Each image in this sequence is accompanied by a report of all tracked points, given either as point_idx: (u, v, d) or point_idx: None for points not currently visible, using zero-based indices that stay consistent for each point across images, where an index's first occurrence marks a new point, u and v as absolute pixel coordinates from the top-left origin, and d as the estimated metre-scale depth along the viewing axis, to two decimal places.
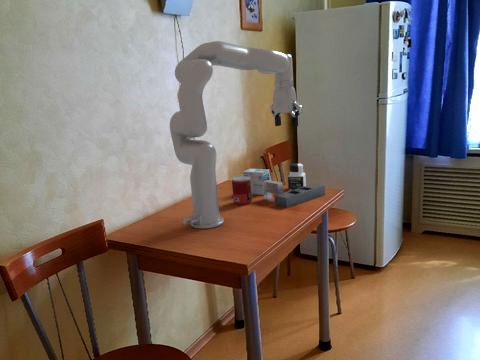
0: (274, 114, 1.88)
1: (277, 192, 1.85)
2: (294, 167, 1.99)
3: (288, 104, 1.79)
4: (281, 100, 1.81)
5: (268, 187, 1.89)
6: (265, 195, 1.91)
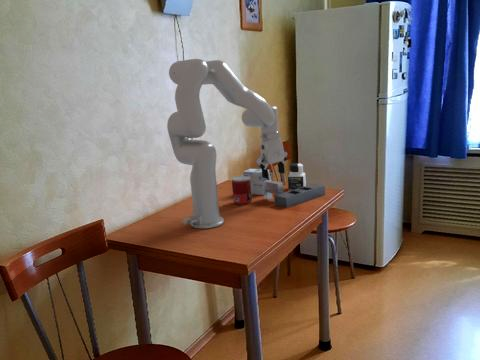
0: (265, 167, 1.82)
1: (277, 192, 1.85)
2: (294, 167, 1.99)
3: (283, 152, 1.86)
4: (277, 150, 1.83)
5: (268, 187, 1.89)
6: (265, 195, 1.91)
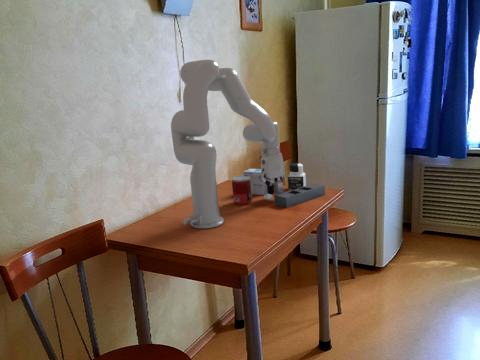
0: (270, 183, 1.85)
1: (277, 192, 1.85)
2: (294, 167, 1.99)
3: (283, 167, 1.87)
4: (277, 165, 1.84)
5: None
6: (265, 195, 1.91)
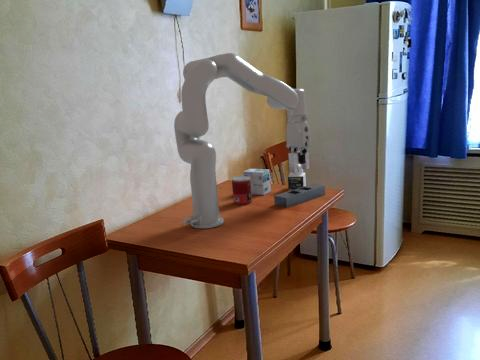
0: None
1: (308, 158, 1.85)
2: None
3: None
4: None
5: None
6: (296, 168, 1.81)
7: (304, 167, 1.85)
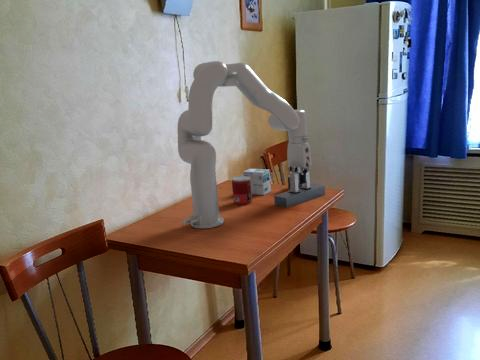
0: None
1: (308, 178, 1.86)
2: None
3: None
4: None
5: None
6: (296, 188, 1.82)
7: (305, 186, 1.87)
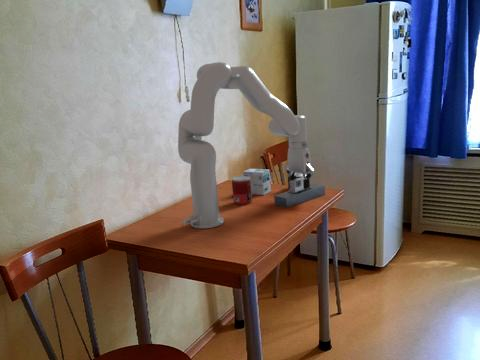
0: None
1: None
2: None
3: None
4: None
5: (299, 185, 1.84)
6: None
7: None
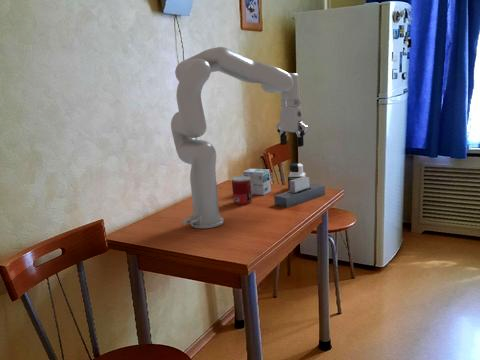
0: None
1: (308, 186, 1.87)
2: (294, 167, 1.99)
3: None
4: None
5: (299, 185, 1.84)
6: None
7: None
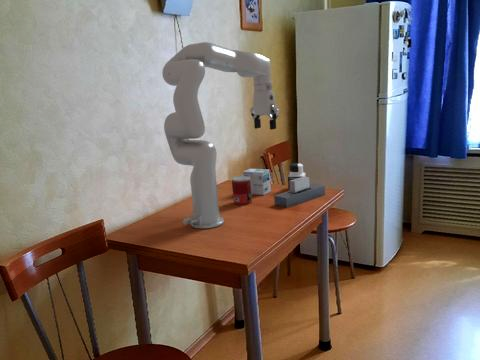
0: None
1: (308, 186, 1.87)
2: (294, 167, 1.99)
3: None
4: None
5: (299, 185, 1.84)
6: None
7: None
